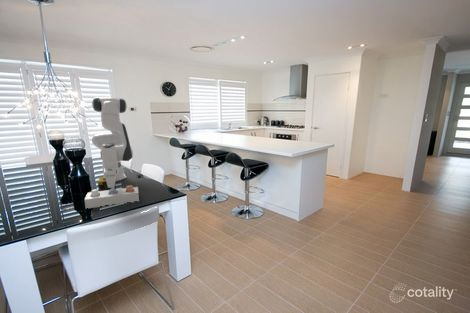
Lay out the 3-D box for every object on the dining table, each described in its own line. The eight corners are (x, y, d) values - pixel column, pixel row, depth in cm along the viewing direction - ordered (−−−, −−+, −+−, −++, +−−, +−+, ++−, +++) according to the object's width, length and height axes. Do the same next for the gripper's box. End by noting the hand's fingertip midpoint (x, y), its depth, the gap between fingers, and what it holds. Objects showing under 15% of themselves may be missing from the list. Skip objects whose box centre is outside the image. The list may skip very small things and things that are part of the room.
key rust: (126, 192, 156) (126, 185, 155) (133, 191, 158) (132, 185, 157) (126, 194, 153) (126, 187, 152) (133, 194, 154) (132, 186, 153)
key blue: (110, 196, 153) (109, 189, 151) (117, 195, 154) (116, 188, 153) (109, 198, 149) (109, 191, 148) (116, 197, 151) (116, 190, 150)
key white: (92, 197, 148) (91, 189, 147) (99, 196, 150) (98, 188, 149) (91, 199, 145) (90, 191, 144) (98, 198, 146) (98, 191, 145)
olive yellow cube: (101, 190, 171) (99, 177, 169) (116, 188, 174) (115, 176, 172) (98, 195, 162) (96, 181, 159) (114, 193, 165) (113, 180, 163)
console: (88, 201, 152) (87, 192, 150) (138, 194, 164) (137, 186, 162) (85, 208, 141) (84, 199, 140) (139, 201, 153) (138, 192, 152)
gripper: (106, 165, 155) (108, 185, 158) (103, 174, 137) (106, 196, 140) (117, 164, 158) (118, 184, 161) (115, 172, 140) (117, 194, 143)
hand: (112, 189), depth 150 cm, fingers closed, pressing on key blue
